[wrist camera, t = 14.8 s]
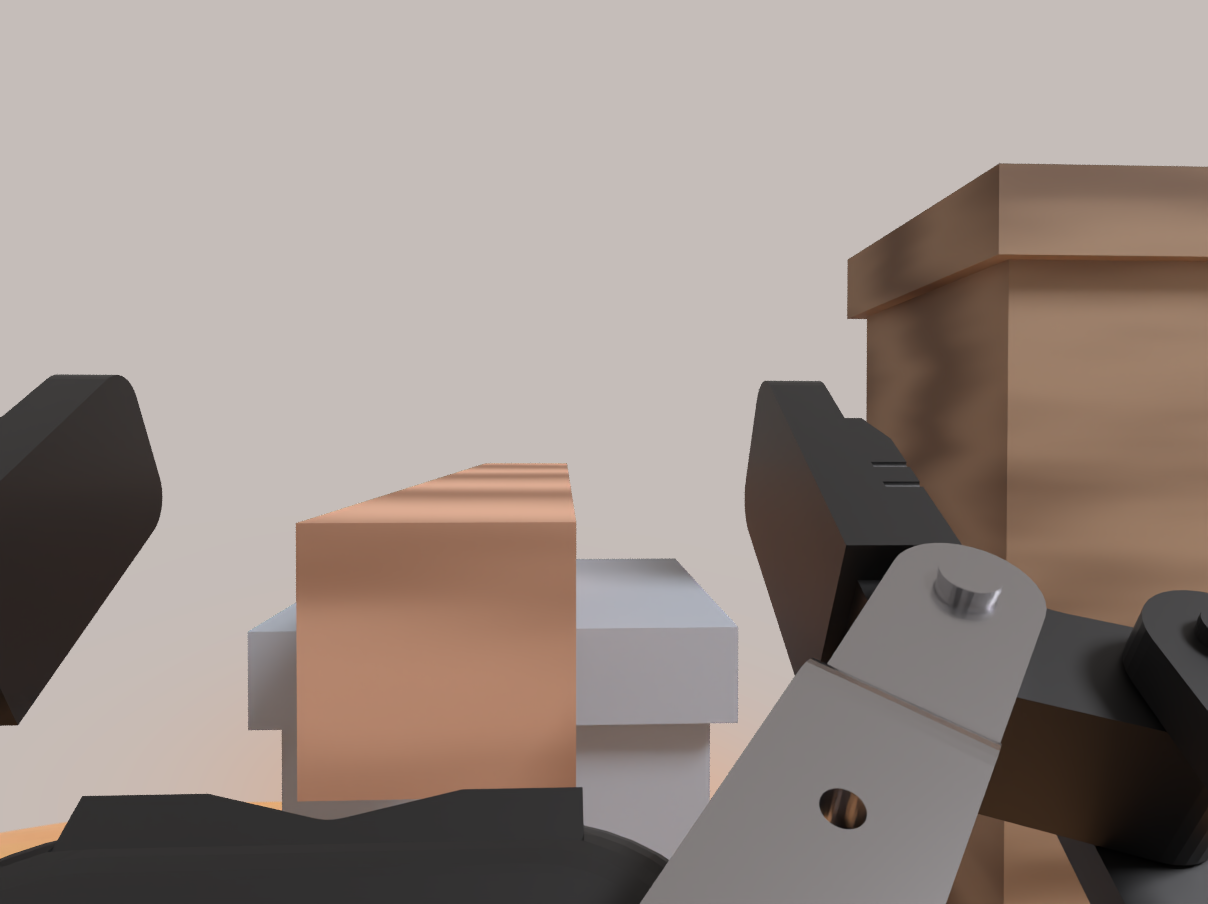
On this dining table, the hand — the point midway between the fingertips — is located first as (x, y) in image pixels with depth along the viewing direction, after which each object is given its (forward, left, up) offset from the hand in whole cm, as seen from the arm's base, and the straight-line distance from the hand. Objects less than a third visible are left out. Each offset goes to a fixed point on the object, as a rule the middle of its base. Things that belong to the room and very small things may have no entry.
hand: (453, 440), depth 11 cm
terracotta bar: (-3, +8, -4) cm, 10 cm away
